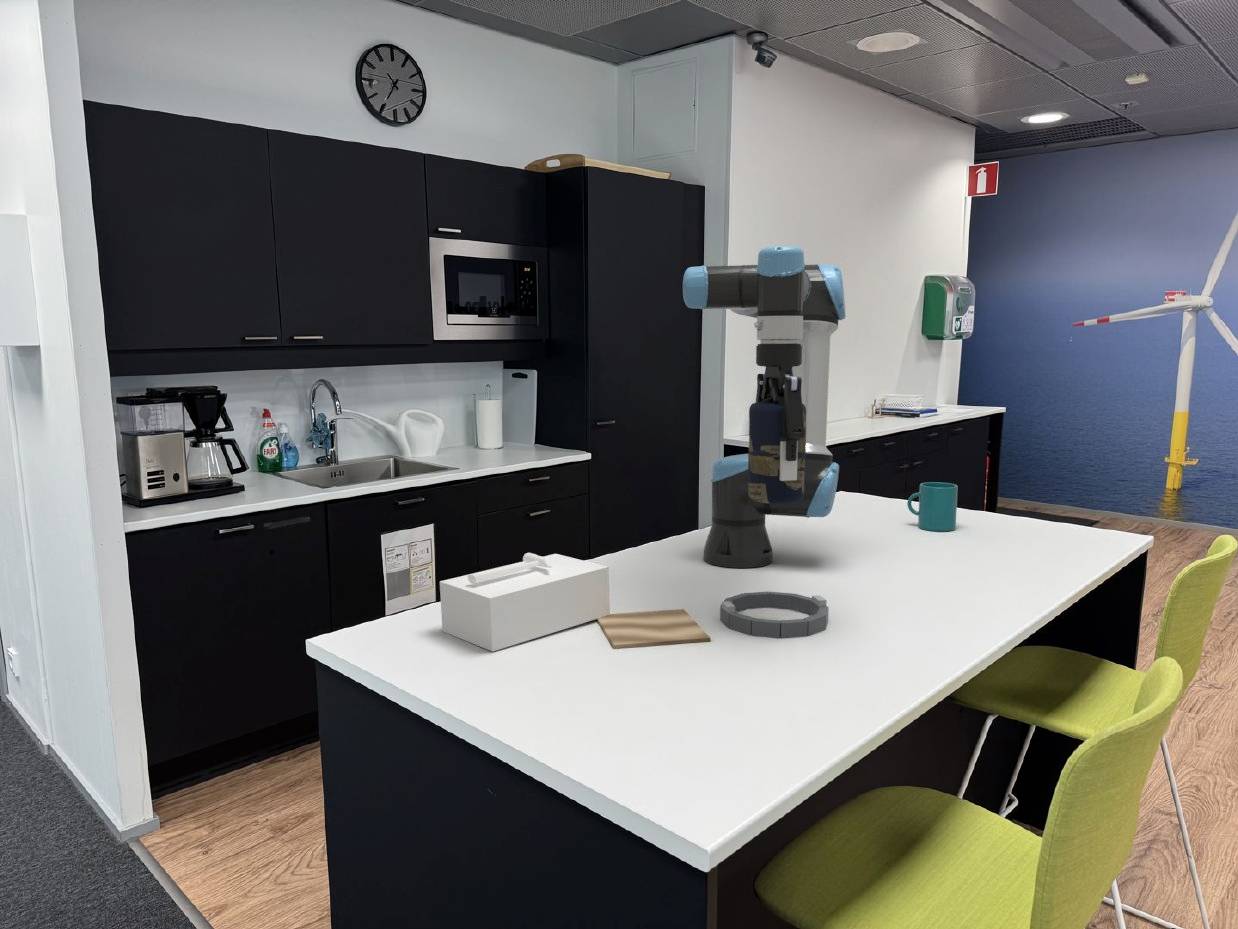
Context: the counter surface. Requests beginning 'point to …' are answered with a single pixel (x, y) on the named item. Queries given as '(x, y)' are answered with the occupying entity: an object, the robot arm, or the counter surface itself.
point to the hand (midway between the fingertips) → (776, 475)
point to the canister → (772, 456)
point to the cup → (936, 506)
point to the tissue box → (524, 600)
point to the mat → (651, 628)
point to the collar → (775, 627)
